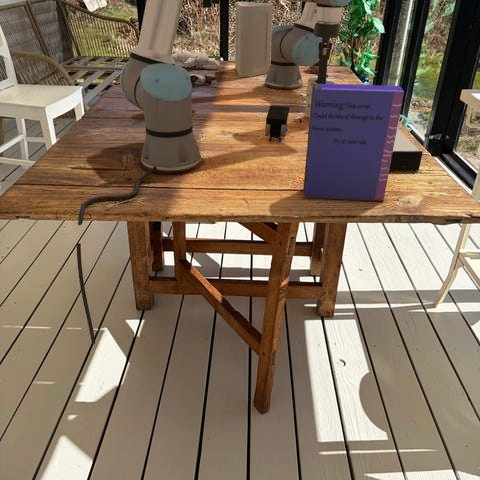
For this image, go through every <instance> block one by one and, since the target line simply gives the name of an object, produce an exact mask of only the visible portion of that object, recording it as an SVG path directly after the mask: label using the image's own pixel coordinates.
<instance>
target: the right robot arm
mask: <svg viewBox="0 0 480 480" xmlns="http://www.w3.org/2000/svg"><path fill="white" fill-rule="evenodd" d="M220 4H221V0H202V8H205V9H212V7H213V6H212V5H220ZM316 5H317V3H311V2H305V4H304V8H303V10H302V13H301V17H300V18H299V19H298V20H296V21H295V22H294V24H280V25H278V24H277V25H273V26H272V34H271V57H270V68H269V71H268V73H266V76H265V79H264V80H265V81H264V85H265V86H266V87H268V88H271V89H276V90H296V89H299V88H301V87H303V77H302V73H301V69H300V67H304V68H305V67H306V68H309V66H312V65H314V64H316V63H317V62H318V61H319V60H320V59H319V58H318V56H319V49H318V48H319V42H322V37H316V36H314V27H315V24H316V23H317V21H316V20H315V19H316V14H317V13H314V10H317V6H316Z"/></svg>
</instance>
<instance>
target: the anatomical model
mask: <svg viewBox="0 0 480 480" xmlns="http://www.w3.org/2000/svg"><path fill="white" fill-rule="evenodd" d="M319 62H320V60H319V61H318V62H317V63H316V64H314V65H312V66H309V67H308V68H309V69H311V70H310V71H311V73H312V74H314V73H315V74H317V73H318V71H319Z"/></svg>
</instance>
